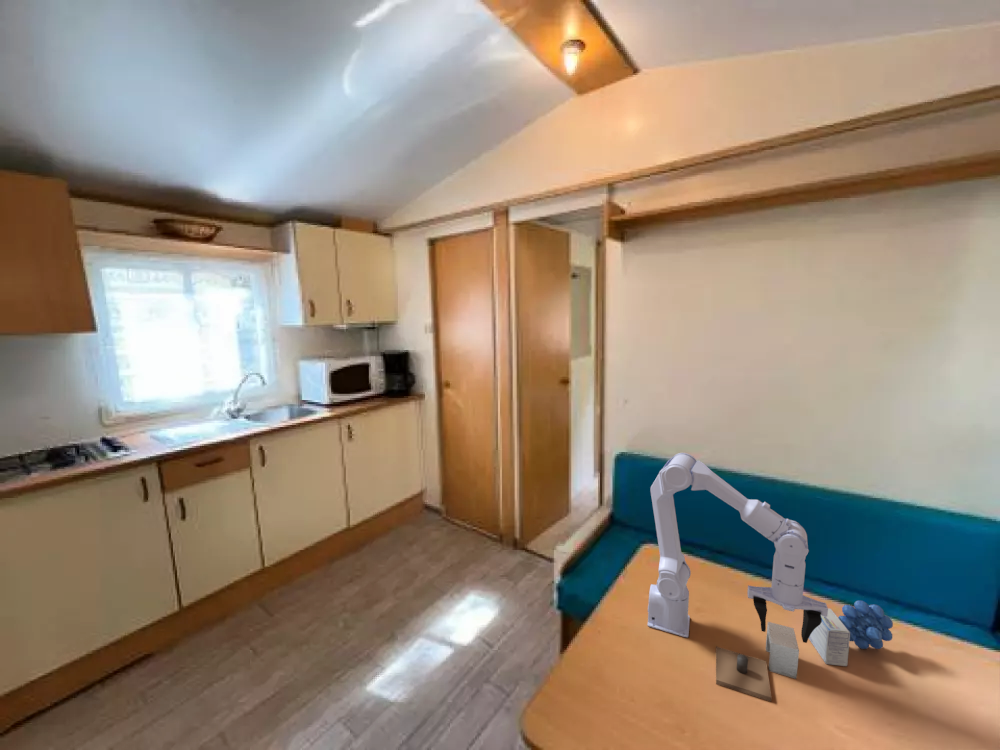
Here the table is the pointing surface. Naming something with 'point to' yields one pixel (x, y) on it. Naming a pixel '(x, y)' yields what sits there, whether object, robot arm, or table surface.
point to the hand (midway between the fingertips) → (783, 633)
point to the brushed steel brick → (782, 650)
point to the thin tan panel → (742, 673)
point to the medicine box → (831, 640)
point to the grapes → (866, 624)
